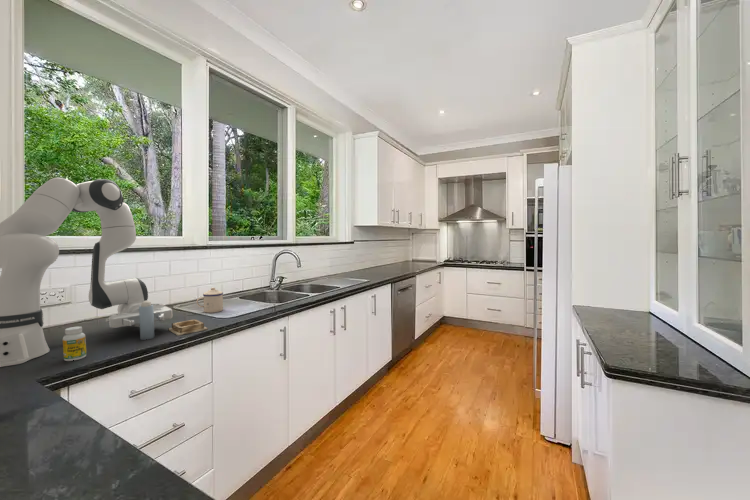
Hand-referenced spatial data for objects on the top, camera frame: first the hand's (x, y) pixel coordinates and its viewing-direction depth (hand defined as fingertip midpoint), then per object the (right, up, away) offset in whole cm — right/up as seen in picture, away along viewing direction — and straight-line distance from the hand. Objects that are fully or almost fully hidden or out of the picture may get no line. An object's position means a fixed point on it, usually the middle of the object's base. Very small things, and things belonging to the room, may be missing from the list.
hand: (147, 320), depth 125 cm
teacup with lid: (+3, -4, +43) cm, 43 cm away
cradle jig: (+9, -6, +11) cm, 15 cm away
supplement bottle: (-10, -8, -19) cm, 23 cm away
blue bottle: (-1, -6, +1) cm, 7 cm away
